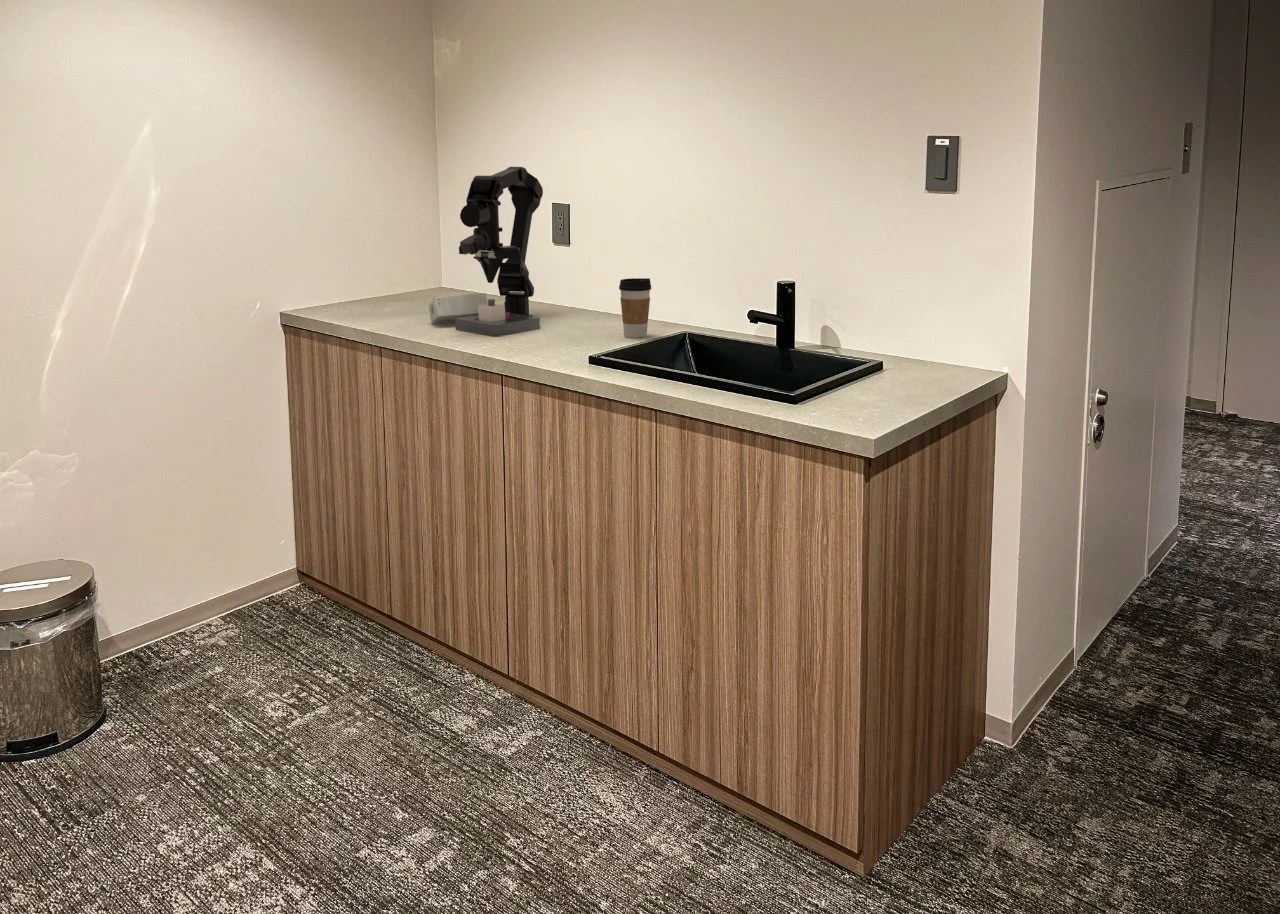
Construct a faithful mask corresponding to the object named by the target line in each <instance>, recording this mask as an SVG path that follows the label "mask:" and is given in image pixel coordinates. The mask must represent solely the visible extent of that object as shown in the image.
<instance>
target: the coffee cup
mask: <svg viewBox="0 0 1280 914" xmlns="http://www.w3.org/2000/svg"><path fill="white" fill-rule="evenodd" d="M618 289H619V290H620V298H619V299H620V308H621V317H622V328H623V336H624V337H625V338H627V337H628V339H639V338H638V337H644V338H646V337H647V335H648V322H649V313H650V305H651V303H650V302H651V297H650V293H651V290H652V284H651V278H649V277H647V278H642V277H641V278H640V277H639V278H623V279H620V282H619V286H618ZM645 336H646V337H645Z"/></svg>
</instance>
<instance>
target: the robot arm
mask: <svg viewBox="0 0 1280 914" xmlns="http://www.w3.org/2000/svg"><path fill="white" fill-rule="evenodd" d="M505 189H507V190H508V191H509V193H510V195H511V198H510V199H511V202H512V204H513V205H512V206H513V207H514V209H515V211H514V219H513V224H512V230H511V238H510V243H509V245H505V246H504V243H503V242H501V239H500V232H503V227H500V222H499V221H500V219H499V206H501V205H502V203H501V201H500V200H499V198H500V197H501V196H502V194H504V190H505ZM543 194H544V189H543V186H542V185H541V183H540V181H539V180H538V178H537V177H535V176H534V175H532V174H531V173H530V172H528V170H527V168H525V167H523V166H509V167H507V168H506V169H503V170H501V171H499V172H496V173H494V174H492V175H475V176H474V177H473V179H472V180H471V183H470V186H469V190H468V194H467V196H466V200H465V201H466V205H464V206H463V207H462V208H461V210H460V213H459V219H460V220H461V222H462V224H463V225H464V226H465V227H468V228H474V229H473V230H472V231H473V234H472V235H469V236H468V237H465V238H464V239H462V240H461V241H460V242H459V244H460V245H459V246H458V255H470V256H473V255H474V256H473V257H472V259H474V260H476V261H478V263H479V264H480V266H481V268H482V271H483V273H484V276H485V278H486V279H485V280H486V281H487V283H488V284H492V283H494V281H495V278H496V276H497V278H496V279H497V281H496V283H497V289H498V293H499V296H500V297H504V304H503V305H505V312H509V313H513V314H520V315H526V316H532V317H534V315H533V314H530V305H529V304H530V303H529V302H530V300H529V299H530V298H532V297H534V295H535V294H534V293H535V286H534V285H533V283H532V281H531V279H530V271H529V269H528V267H527V265H526V259H527V258H526V257H527V251H528V247H529V246H528V244H529V240H530V239H529V237H530V231H531V226H532V218H533V214H534V213H535V212H536V211H537V209H538V208H539V206H540V204H541V200H542V197H543ZM504 260H506V261H504ZM497 273H498V275H497Z"/></svg>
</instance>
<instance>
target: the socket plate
mask: <svg viewBox="0 0 1280 914" xmlns="http://www.w3.org/2000/svg"><path fill="white" fill-rule="evenodd" d="M540 322H541V320H540V316H539V317H538V316H533V317H532V316H526V315H520V314H513V313H509V312H505V320H501V321H495V322H486V321H480V320H479V315H475V316H468V317H462V318H456V319H455V322H454V323H455V324H454V326H455V327H454V328H455V330H456V331H460V332H465V333H471V334H472V333H473V334H478V335H483V336H489V337H490V336H491V337H495V338H496V337H502V336H507V335H513V334H518V333H522V332H523V333H524V332H528V331H533V330H535V331H536V330H539V329H541V323H540Z"/></svg>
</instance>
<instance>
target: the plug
mask: <svg viewBox="0 0 1280 914" xmlns="http://www.w3.org/2000/svg"><path fill="white" fill-rule="evenodd" d="M495 301H496V300H495V299H494V298H490V299H487V302H488V304H485V305H478V313H479V320H480V321H486V322H495V321H501V320H505V305H504V304H500V303H499V304H498V303H496V302H495Z"/></svg>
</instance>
